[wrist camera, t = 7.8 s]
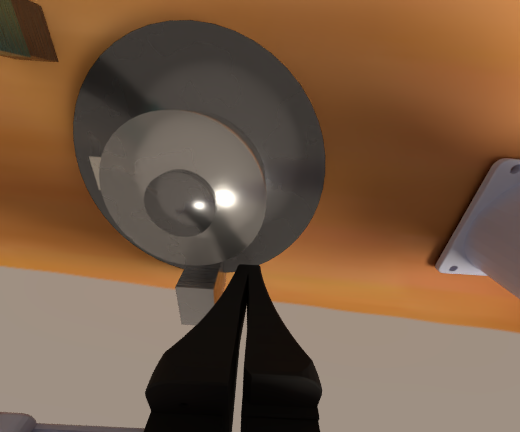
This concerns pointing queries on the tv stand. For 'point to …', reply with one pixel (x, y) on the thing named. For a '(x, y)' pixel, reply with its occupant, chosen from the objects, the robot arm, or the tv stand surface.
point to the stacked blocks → (24, 32)
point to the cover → (184, 185)
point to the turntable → (216, 102)
